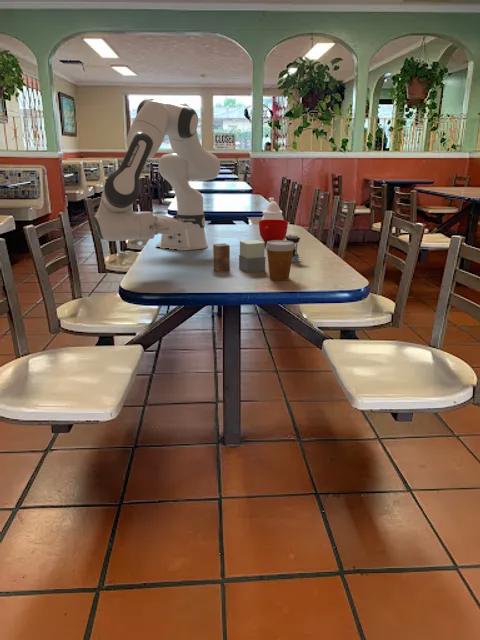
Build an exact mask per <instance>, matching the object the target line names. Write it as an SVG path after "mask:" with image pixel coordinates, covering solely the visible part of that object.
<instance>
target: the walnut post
mask: <svg viewBox="0 0 480 640" xmlns="http://www.w3.org/2000/svg"><path fill="white" fill-rule="evenodd" d="M212 246H213V247H212V248H213V249H212V251H213V252H212V253H213V254H212V255H213V256H212V257H213V270H214V271H215V270H216V272H217V273H221V272H230V271H231V269H230V268H231V265H230V263H231V262H230V261H231V260H230V259H231V258H230V253H231V251H230V249H231V247H230V246H231V245H230V244H227V243H214V244H213V245H212Z"/></svg>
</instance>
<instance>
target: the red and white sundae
mask: <svg viewBox="0 0 480 640" xmlns="http://www.w3.org/2000/svg"><path fill="white" fill-rule="evenodd" d="M274 200H275V198H274V197H269V198H268V201H269V203H268V204H267V206H266V208H265V210H262V211H261V212H262V214H263V215H262V218H261V220H285V219H284V216H283V211H282V210H281V208H280V206H279V204H278V202H276V201H274ZM258 234H259V236H260V237H261V235H260V232H258Z"/></svg>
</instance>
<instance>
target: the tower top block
mask: <svg viewBox="0 0 480 640" xmlns="http://www.w3.org/2000/svg"><path fill="white" fill-rule="evenodd" d="M265 244H266V243H265V242H264V241H260V240H258V239H249V240H240V241H239V255H241V256H243V257H245V258H247V259H248V258H260V257H265V246H266V245H265Z"/></svg>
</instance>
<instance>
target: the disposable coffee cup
mask: <svg viewBox="0 0 480 640" xmlns="http://www.w3.org/2000/svg"><path fill="white" fill-rule="evenodd" d="M265 248H266V253H267V254H266V255H267V263H268V274H269V275H268V276H269V279H270V280H272V281H280V282H281V281H287V280H289V279H290V272H291V267H292V262H291V261H292V255H293V250H294V248H296V245H295V246H294V243H293V242H291V241H287V240H286V239H285V240H284V239H283V240H273V241H268V242H267V244H266V245H265Z"/></svg>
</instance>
